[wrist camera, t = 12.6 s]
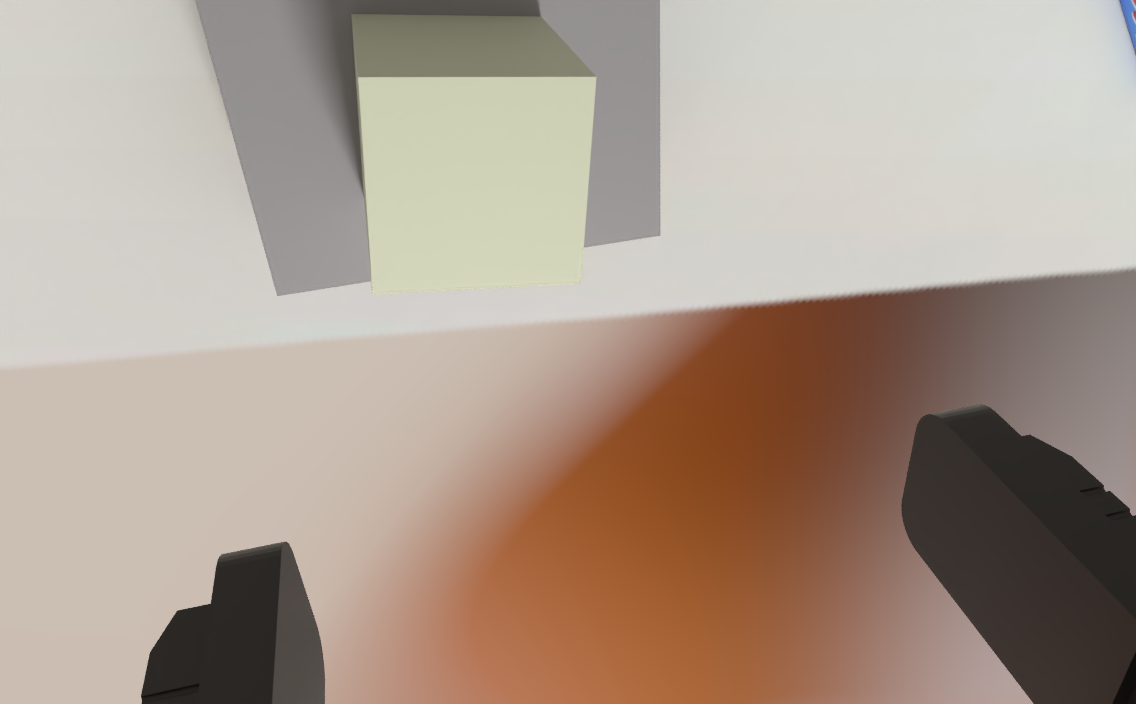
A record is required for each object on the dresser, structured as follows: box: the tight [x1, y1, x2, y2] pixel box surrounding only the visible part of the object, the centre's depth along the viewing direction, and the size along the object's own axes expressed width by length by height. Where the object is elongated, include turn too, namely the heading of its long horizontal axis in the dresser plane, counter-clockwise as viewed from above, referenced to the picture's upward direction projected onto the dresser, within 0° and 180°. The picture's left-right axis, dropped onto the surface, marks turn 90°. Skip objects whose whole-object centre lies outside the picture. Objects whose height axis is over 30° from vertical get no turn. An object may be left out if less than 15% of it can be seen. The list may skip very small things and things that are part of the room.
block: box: [351, 14, 596, 295], centre depth 22 cm, size 5×5×6 cm
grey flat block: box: [196, 0, 660, 296], centre depth 26 cm, size 12×10×3 cm
